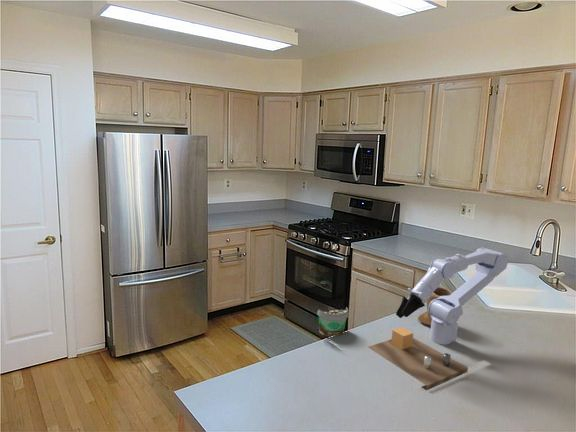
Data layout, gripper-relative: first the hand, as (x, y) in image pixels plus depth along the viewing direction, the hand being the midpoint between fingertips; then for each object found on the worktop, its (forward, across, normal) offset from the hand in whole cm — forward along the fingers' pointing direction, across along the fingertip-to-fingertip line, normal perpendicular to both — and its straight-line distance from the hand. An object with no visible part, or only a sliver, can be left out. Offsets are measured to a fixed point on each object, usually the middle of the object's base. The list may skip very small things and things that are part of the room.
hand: (400, 315), depth 132 cm
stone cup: (-15, -31, +17) cm, 38 cm away
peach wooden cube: (+6, -9, +8) cm, 13 cm away
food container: (+20, -15, -10) cm, 27 cm away
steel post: (+8, +3, +16) cm, 19 cm away
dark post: (+3, +1, +21) cm, 21 cm away
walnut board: (+7, -3, +13) cm, 16 cm away
